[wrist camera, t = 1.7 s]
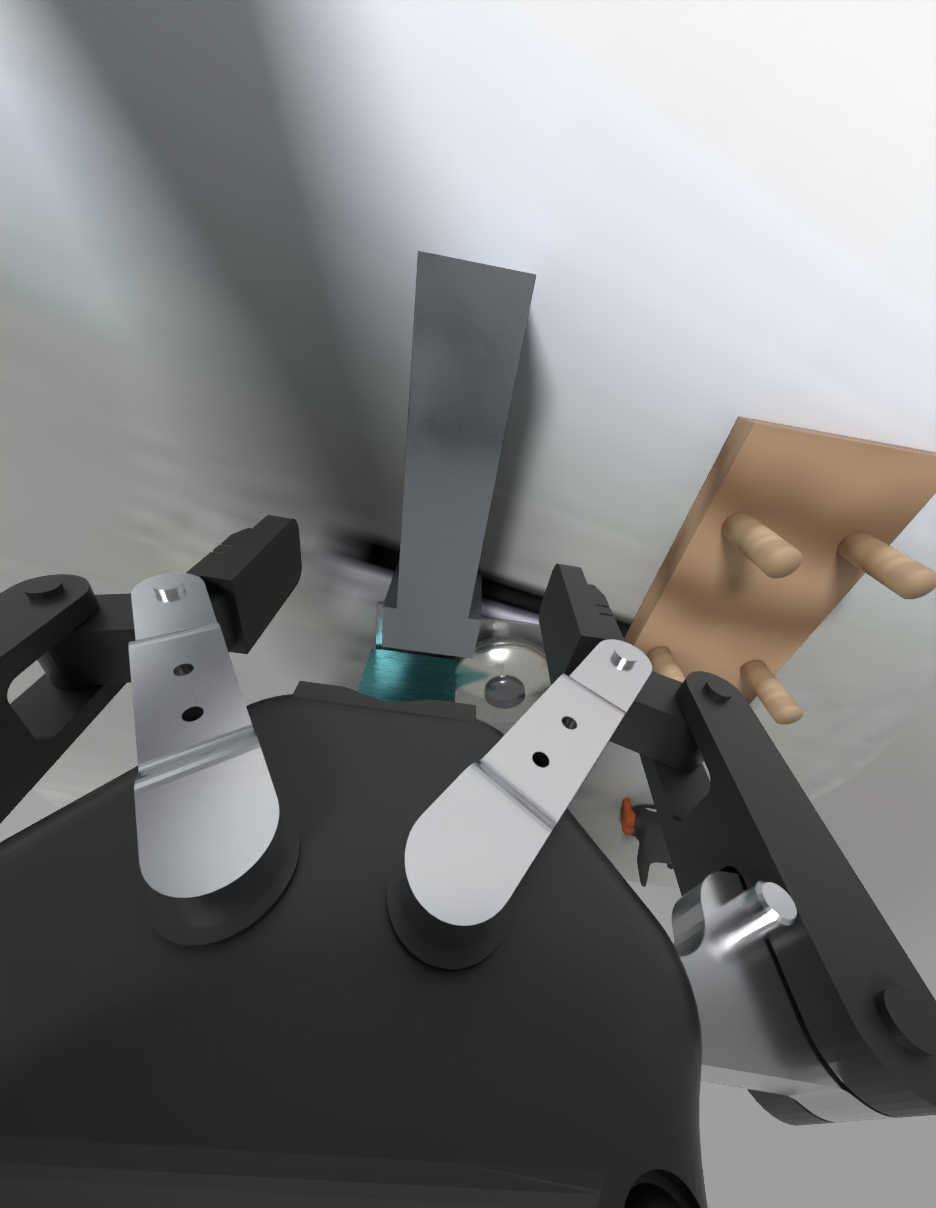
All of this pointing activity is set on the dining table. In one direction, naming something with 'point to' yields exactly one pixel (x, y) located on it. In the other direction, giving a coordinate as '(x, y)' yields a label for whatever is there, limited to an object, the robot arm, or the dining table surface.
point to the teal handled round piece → (464, 678)
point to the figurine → (645, 837)
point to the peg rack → (780, 553)
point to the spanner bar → (453, 447)
